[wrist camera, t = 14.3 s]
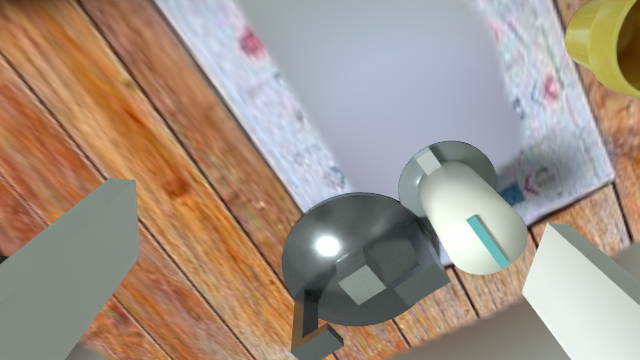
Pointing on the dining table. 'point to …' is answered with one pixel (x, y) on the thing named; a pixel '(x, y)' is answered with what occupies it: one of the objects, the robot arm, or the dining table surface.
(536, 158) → the dining table surface
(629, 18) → the plant pot
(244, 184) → the dining table surface
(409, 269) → the grey hook stand
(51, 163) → the dining table surface
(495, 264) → the white teal-striped cylinder
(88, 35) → the dining table surface
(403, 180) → the coaster
